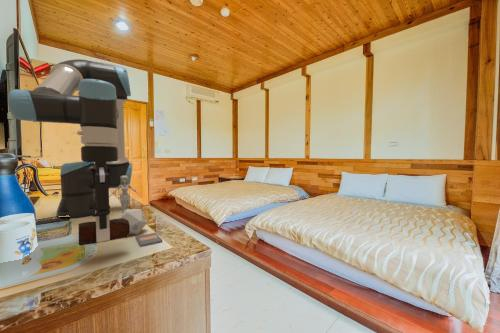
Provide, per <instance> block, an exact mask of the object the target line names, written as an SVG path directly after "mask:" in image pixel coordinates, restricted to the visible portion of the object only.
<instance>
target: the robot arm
mask: <svg viewBox="0 0 500 333" xmlns="http://www.w3.org/2000/svg"><path fill="white" fill-rule="evenodd" d="M130 86H131V84H130V79H129V73H128V70H127V68H126V67H124V66H120V65H116V64H111V63H104V62H97V61H93V60H87V59H79V58H78V59H70V60H64V61H61V62H58V63H57V64H54V65H53V66H52V67H51V69H50V70H49V75H48V76H47V77H46V78H45V79H44V80H43V81H41V82H40V83H39V84H38V85H37V86H36V87H35V88H34V89H33V90H29V89H17V88H16V89H12V90H10V92H9V94H8V97H7V104H8V108H9V111H10V113H11V115H12V117H14V118H15V119H16V120H19V121H26V122H27V121H28V122H34V123H37V122H38V123H55V124H57V123H58V124H59V123H60V124H72V125H73V124H74V125H79V127H80V130H78V131H77V132H76V134H77V135H78V136H80V143H81V144H83V145H84V146H83V145H82V146H81V147H80V156H81V157H80V158H81V159H80V160H81V161H74V162H67V163H63V164H61V166H60V174H59V176H60V193H61V199H60V201H59V204H58V206H57V210H56V217H57V216H66V215H69V216H70V218H69V219H74V218H75V219H76V218H84V217H87V216H92V217H95V218H94V219H95V220H94V221H96V239H97V243H96V244H99V243H98V242H100V243H104V242H103V241H106V242H109V241H108V240H110V225H109V220H110V213H111V205H110V197H109V196H110V189H117V188H118V187H119V185H121V176H128V180H129V182H128V184H129V185H130V184H131V179H132V175H133V174H132V171H133V163H131V162H130V160H129V158H128V157H126V150H125V149H126V148H125V145H126V144H125V143H126V142H125V115H124V114H125V111H124V108H125V107H124V104H125V103H127V101H128V97H131V95H132V93H131V87H130ZM77 91H78V92H77ZM75 92H77V93H78V94H77V95H74V94H75ZM130 186H131V185H130ZM110 241H111V240H110Z"/></svg>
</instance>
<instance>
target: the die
mask: <svg viewBox="0 0 500 333" xmlns="http://www.w3.org/2000/svg"><path fill="white" fill-rule="evenodd" d="M119 218H124V219H126V220H128V221H129V225H130V232H129V234H128V235H139V234H140V233H141V231H142V230H143V229H144V228H145V226H146V225H147V224H148V220H147V218H146V215H145V214H144V212H143V209H142V208H141V209H140V208H139V209H138V208H137V209H135V208H134V209H133V208H132V209H130V208H129V209H127V210H126V209H125V210H124V213H123V214H122V213H121V215H120V216H119V217H118V218H117V219H119Z"/></svg>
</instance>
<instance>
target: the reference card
mask: <svg viewBox="0 0 500 333" xmlns="http://www.w3.org/2000/svg"><path fill="white" fill-rule="evenodd" d="M135 240H136V241H137V243H138V245H139V246H140V248H142V247H146V246H151V245H155V244H159V243H160V244H161V243H163V239H162V238H161V237H160V236H159V234H158V233H157V232H152V233H151V232H150V233H147V234H141V235H136V236H135Z"/></svg>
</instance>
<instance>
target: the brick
mask: <svg viewBox="0 0 500 333" xmlns="http://www.w3.org/2000/svg"><path fill="white" fill-rule="evenodd" d="M118 218H119V217H118ZM118 218H115V219H114V218H113V219H109V225H110V240H108V241H103V242H102V243H105V242H109V241H115V240H116V241H117V240H120V239H126V238H128V236H129V235H130V234H129V232H130V225H129V221H128V220H126V219H124V218H119V219H118ZM99 243H101V242H98V243H97V239H96V221H95V220H93V221H86V222H82V223H78V245H79V246H81V247H82V246H88V245H92V244H94V245H95V244H99Z"/></svg>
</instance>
